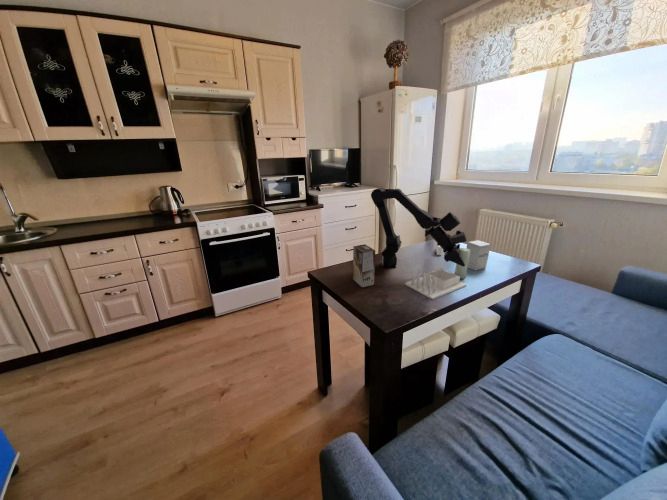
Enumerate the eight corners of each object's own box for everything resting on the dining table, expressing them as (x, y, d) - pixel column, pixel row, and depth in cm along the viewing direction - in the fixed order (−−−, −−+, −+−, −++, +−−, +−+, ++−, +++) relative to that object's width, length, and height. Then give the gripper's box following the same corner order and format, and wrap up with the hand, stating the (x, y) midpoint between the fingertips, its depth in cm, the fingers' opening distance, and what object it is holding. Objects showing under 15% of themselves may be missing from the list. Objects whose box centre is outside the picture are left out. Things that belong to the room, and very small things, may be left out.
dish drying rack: (432, 299, 106) (434, 284, 103) (404, 284, 118) (405, 270, 115) (466, 286, 116) (468, 271, 113) (437, 273, 128) (439, 260, 125)
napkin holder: (441, 258, 146) (442, 248, 144) (423, 252, 155) (424, 243, 153) (457, 252, 154) (458, 242, 152) (439, 247, 163) (441, 237, 161)
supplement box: (475, 271, 129) (480, 246, 125) (462, 265, 136) (466, 241, 131) (486, 268, 132) (491, 243, 128) (473, 262, 139) (477, 239, 134)
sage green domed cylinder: (457, 278, 122) (461, 251, 118) (452, 274, 127) (456, 248, 122) (467, 278, 122) (472, 251, 118) (462, 273, 127) (467, 247, 122)
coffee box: (374, 284, 118) (376, 250, 112) (362, 287, 116) (362, 252, 110) (364, 276, 126) (365, 243, 120) (352, 279, 124) (352, 245, 118)
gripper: (456, 232, 110) (482, 261, 110) (456, 221, 126) (479, 246, 126) (433, 247, 116) (458, 275, 115) (436, 235, 132) (458, 259, 131)
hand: (464, 263), depth 122 cm, fingers open, 6 cm apart
